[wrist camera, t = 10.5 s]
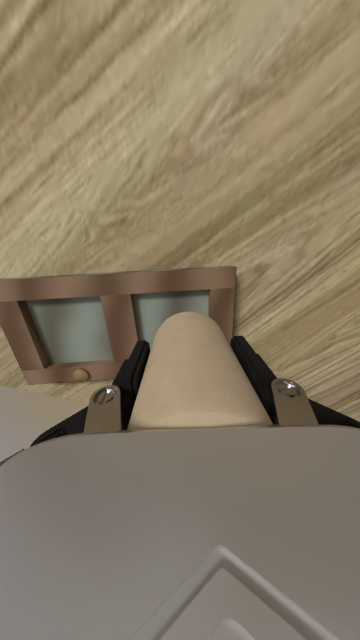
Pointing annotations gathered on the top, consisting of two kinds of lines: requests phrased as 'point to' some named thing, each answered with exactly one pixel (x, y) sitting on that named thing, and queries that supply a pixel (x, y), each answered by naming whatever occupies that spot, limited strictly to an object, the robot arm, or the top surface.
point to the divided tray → (103, 316)
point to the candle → (194, 380)
